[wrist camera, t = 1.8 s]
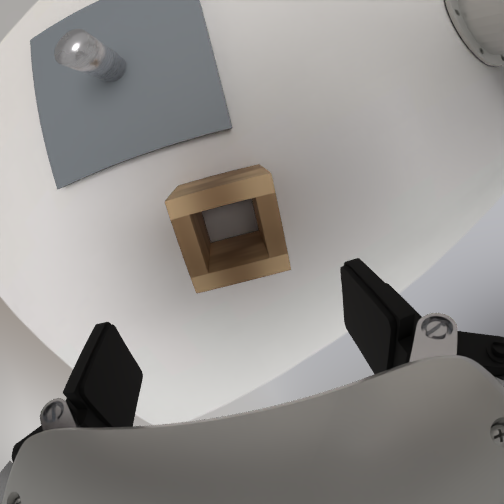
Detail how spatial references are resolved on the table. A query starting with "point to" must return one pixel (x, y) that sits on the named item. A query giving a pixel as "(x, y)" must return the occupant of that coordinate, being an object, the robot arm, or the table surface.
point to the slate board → (128, 86)
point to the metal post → (89, 56)
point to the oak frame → (236, 248)
